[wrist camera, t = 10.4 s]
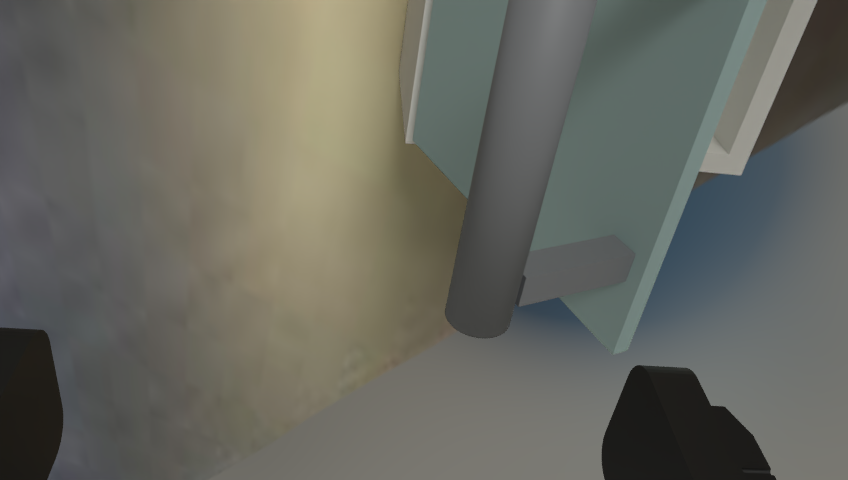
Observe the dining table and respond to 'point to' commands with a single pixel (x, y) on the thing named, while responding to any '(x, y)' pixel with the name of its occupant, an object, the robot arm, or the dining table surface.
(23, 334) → the robot arm
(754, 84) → the cabinet
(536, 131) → the door
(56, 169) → the dining table surface
